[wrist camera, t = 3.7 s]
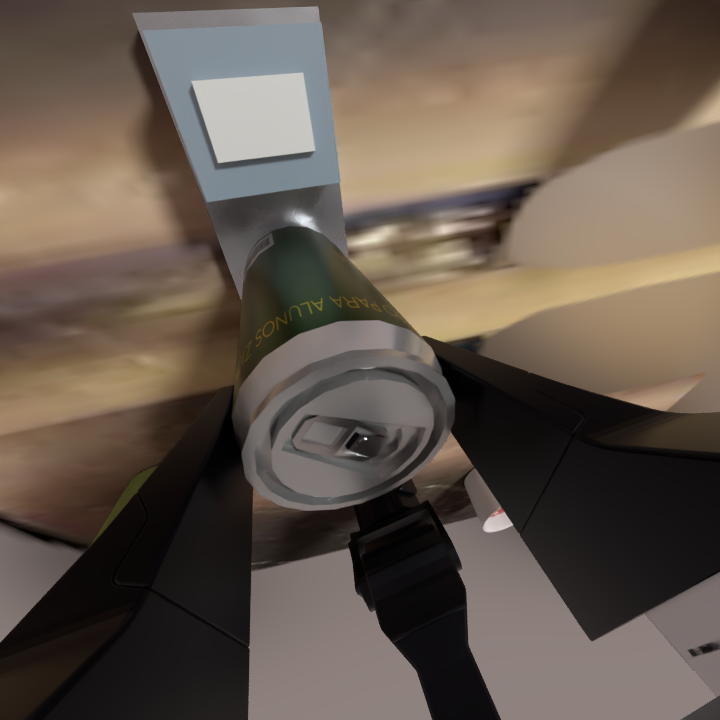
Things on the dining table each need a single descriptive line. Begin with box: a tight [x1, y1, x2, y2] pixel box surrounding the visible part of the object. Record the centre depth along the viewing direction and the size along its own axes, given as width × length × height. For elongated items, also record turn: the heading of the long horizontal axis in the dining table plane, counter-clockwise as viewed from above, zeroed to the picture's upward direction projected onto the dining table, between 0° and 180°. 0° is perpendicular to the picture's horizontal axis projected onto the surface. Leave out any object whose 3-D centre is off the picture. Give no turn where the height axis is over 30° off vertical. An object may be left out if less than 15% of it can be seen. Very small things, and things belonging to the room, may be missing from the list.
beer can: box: [231, 226, 455, 511], centre depth 11 cm, size 5×5×12 cm
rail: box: [132, 7, 349, 301], centre depth 18 cm, size 20×7×1 cm, turn 6°
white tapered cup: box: [464, 468, 513, 532], centre depth 41 cm, size 9×9×6 cm
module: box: [143, 22, 340, 202], centre depth 12 cm, size 5×6×3 cm
